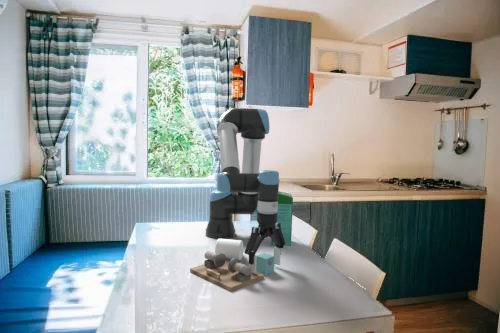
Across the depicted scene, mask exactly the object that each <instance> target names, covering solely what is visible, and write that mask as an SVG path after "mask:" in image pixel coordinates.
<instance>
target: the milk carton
mask: <svg viewBox="0 0 500 333" xmlns="http://www.w3.org/2000/svg"><path fill="white" fill-rule="evenodd" d="M293 200H294V198H293V196H292V194H291V192H289V191H286V190H282V191H279V190H278V211H277V212H276V213H277V223H281V230H282V234H283V237H284V241H285V245H284V246H288V247H289V246H292V230H293V227H292V226H293V204H294V201H293ZM270 241H271V242H270V243H271V246H275V244H274V242H273V241H272V239H271V238H270Z"/></svg>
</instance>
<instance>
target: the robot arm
mask: <svg viewBox="0 0 500 333" xmlns="http://www.w3.org/2000/svg"><path fill="white" fill-rule="evenodd" d="M269 118H270V117H269V113H268V112H267V110H266V109H261V108H244V107H243V108H241V107H240V108H239V107H234V108H230V109H228V110H226V111H225V112H223V113H222V115H221V116H220V117H219V119H218V120H217V123H216V134H217V136H218V137H219V154H220V155H219V157H220V158H219V159H220V171H221V172H218V173H217V175H216V189H214V190H212V191H211V192H210V195H209V199H208V200H209V220H208V222H207V226H206V229H205V236H206V237H208V238H213V239H219V238H221V239H229V238H230V239H231V238H233V237H235V236H236V228H235V224H234V222H233V221H234V220H233V215H250V216H251V215H256V221H257V222H256V223H257V224H258V225H257V226H252V227H251V233H250V235H249V238H248V241H247V244H246V246H245V248H244V254H245V255H248V264H249V266H248V267H250V268H251V269H252V271H251V273H254V274H256V260H257V255H258V254H257V252H258V250H259V249H260V246H261V245H262V242H263V241H264V240H265V239H268V237H269V238H270V240H271V239H272V241H273V242H274V244H275V245H274V247H273V256H275V264H274V265H277V266H280V265H281V255H282V249H284V248H285V246H286V245H285V241H284V237H283V234H282V230H281V223H277V213H276V212H277V211H278V191H279V188H280V172H279V171H278V170H271V169H262V170H260V164H261V163H260V162H261V152H262V141H263V140H265V138H266V135H268V134H269V133H270V119H269ZM238 134H240V137H241V139H243V147H242V148H243V149H242V163H241V164H242V165H241V168H240V160H239V150H238V141H237V135H238Z"/></svg>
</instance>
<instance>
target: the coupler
mask: <svg viewBox="0 0 500 333" xmlns="http://www.w3.org/2000/svg"><path fill="white" fill-rule="evenodd" d="M256 255H257V260H256V272H258V273H261V274H263V275H264V276H266V275H270V274H272V273H273V272H275V265H276V264H275V256H274V254H269V253H266V252H263V253H261V254H256Z"/></svg>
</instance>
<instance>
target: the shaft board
mask: <svg viewBox="0 0 500 333" xmlns="http://www.w3.org/2000/svg"><path fill="white" fill-rule="evenodd" d="M203 256H204V258H205V260H204V264H201V265H197V266H194V267H191V268H190V269H189V272H190V273H192V274H194V275H196V276H199V277H200V278H202V279H204V280H206V281H209V282H210V283H212V284H215V285H217V286H219V287H221V288H223V289H225V290H227V291H229V292H233V291H235V290H237V289H240V288H243V287H246V286H248V285H250V284H253V283H254V282H255V283H256V282H257V281H260V280H263V279H264V278H265V275H264V274H261V273H259V272H256V274H254V273H251V271H252V269H251V268H250V267H249V266H247V264H243V263H241V262H240V260H238V259H236V258H233V259H231V260H230V259H226V256H225V255H224V254H223V253H219V254H215V252H211V251H206V252H204V255H203Z"/></svg>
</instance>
